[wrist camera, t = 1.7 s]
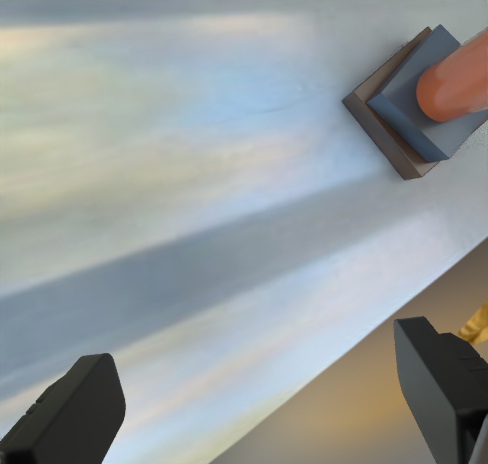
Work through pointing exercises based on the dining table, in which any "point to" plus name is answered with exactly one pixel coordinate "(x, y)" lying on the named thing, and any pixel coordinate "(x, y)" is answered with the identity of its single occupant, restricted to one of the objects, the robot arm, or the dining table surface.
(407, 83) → the block stack
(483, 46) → the terracotta canister
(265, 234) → the dining table surface
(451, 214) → the dining table surface
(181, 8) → the dining table surface
